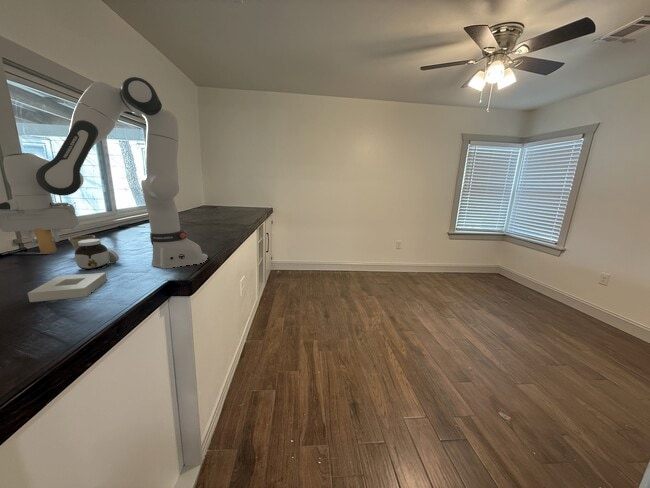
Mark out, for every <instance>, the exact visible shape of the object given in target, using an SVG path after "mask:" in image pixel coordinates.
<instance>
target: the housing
mask: <svg viewBox="0 0 650 488" xmlns="http://www.w3.org/2000/svg"><path fill="white" fill-rule="evenodd" d="M107 281H108V277H107V273H106V272H98V273H97V272H96V273H86V274H83V273H82V274H71V275H58V276H56V277H54V278H52V279H50V280H49V281H47V282H45V283H43V284H41V285H40V286H37V287H36V288H34V289H33V290H30V291H28V292H27V297H28V300H29V303H36V302H44V301H45V302H46V301H55V300H66V299H68V300H69V299H75V298H77V299H78V298H87V297H88V296H90V294H92V293H93V292H94V291H95V289H96V290H97V289H98V288H99V287H101V286H102V285H103V284H104V283H106V282H107ZM100 285H101V286H100ZM91 292H92V293H91ZM86 296H87V297H86Z"/></svg>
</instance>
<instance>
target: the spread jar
mask: <svg viewBox="0 0 650 488" xmlns="http://www.w3.org/2000/svg"><path fill="white" fill-rule="evenodd" d="M78 245H79V247H78V248H77V249H76V251H75V250H74V259H75V262H76V265H77V267H78V268H80V269H81V270H84V271H96V270H100V269H103V268H105V267H107V265H109V263H112V264H114V263H116V262H119V260H120V257H119V254H118V253H117V252H116V251H114V250H113V249H110V248H107V246H105V245H104V244H103V243H102V242H101V238H100V239H99V238H94V239H87V240H82V241H79V242H78Z"/></svg>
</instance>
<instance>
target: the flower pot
mask: <svg viewBox="0 0 650 488" xmlns="http://www.w3.org/2000/svg"><path fill="white" fill-rule="evenodd" d="M87 239H96V236H95V235H80V236H79V235H78V236H74V237H73V236H72V237H69V238H68V239H67V240H68V241H69V242H70V243H71V244H72V247H73V249H74V252H75V251H76V249H77V248H78V247H79V245H78V242H79V241H82V240H87Z"/></svg>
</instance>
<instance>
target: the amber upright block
mask: <svg viewBox="0 0 650 488" xmlns="http://www.w3.org/2000/svg"><path fill="white" fill-rule="evenodd" d="M34 235H35V236H36V239H37V242H38V243H37V245H38V248H39V251H40V254H42V255H45V254H46V255H47V254H54V253H56V252H58V249H57V246H56V242H51V239H50V238H51V237H53V236H54V234H53V232H52V230H42V229H35V231H34Z"/></svg>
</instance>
